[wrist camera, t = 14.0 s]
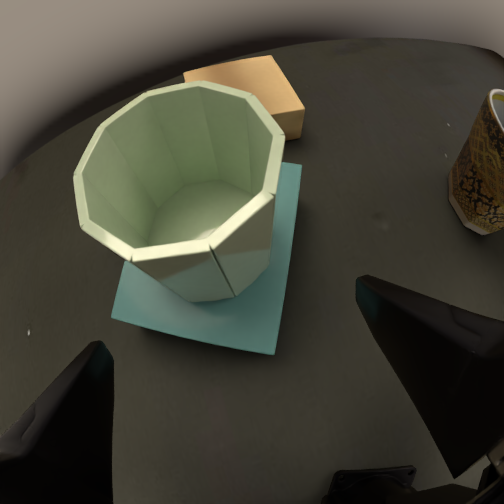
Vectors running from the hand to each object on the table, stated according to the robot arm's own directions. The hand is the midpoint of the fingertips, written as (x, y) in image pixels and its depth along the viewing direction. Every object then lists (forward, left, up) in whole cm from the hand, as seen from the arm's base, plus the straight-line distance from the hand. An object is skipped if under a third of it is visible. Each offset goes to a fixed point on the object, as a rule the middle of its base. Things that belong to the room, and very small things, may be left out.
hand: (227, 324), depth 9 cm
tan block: (+4, -18, -9) cm, 20 cm away
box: (+3, -5, -9) cm, 11 cm away
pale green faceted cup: (+3, -5, -5) cm, 7 cm away
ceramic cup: (-19, -15, -9) cm, 26 cm away
